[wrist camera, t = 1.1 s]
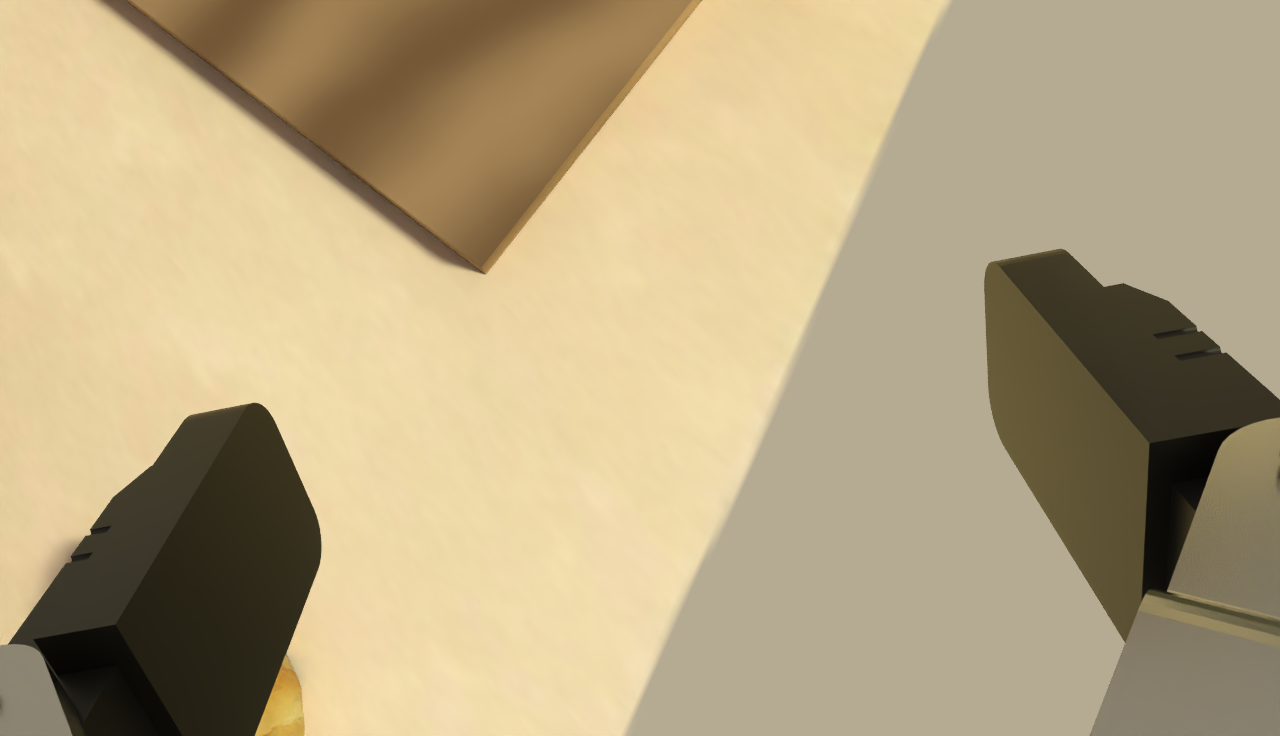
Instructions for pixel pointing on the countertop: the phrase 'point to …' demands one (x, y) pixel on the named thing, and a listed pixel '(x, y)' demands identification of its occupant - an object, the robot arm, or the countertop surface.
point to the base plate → (437, 91)
